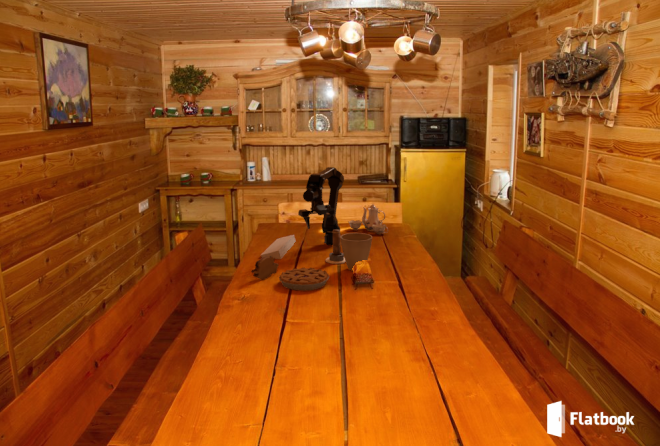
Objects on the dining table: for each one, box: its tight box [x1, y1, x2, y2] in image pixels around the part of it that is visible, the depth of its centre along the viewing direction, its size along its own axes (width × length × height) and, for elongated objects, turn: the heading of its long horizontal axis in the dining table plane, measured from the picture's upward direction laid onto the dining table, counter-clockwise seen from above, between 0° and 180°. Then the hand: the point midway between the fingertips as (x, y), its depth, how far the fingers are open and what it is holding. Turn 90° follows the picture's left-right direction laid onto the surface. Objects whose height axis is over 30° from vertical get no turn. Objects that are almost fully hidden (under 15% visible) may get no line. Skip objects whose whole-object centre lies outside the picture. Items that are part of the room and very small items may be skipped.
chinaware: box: [347, 203, 389, 235], centre depth 341 cm, size 28×17×17 cm, turn 58°
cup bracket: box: [325, 252, 346, 265], centre depth 280 cm, size 11×11×3 cm
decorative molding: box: [260, 234, 297, 260], centre depth 301 cm, size 34×5×10 cm
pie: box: [278, 267, 330, 292], centre depth 246 cm, size 22×22×5 cm
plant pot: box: [340, 232, 373, 271], centre depth 264 cm, size 15×15×16 cm
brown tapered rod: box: [332, 229, 341, 256], centre depth 278 cm, size 4×4×15 cm
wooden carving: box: [250, 256, 279, 280], centre depth 253 cm, size 16×5×10 cm, turn 150°
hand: (317, 228), depth 293 cm, fingers open, 9 cm apart
